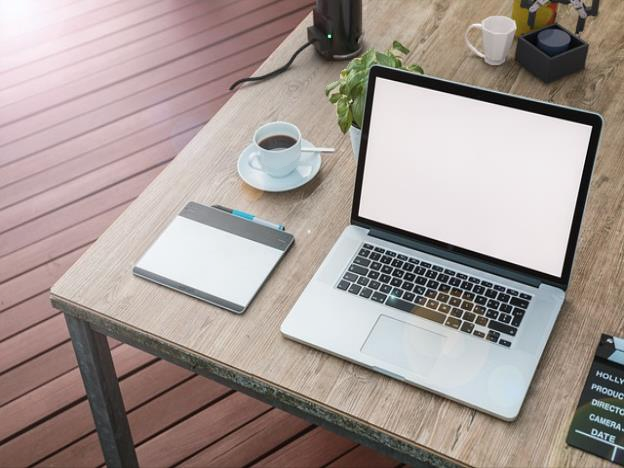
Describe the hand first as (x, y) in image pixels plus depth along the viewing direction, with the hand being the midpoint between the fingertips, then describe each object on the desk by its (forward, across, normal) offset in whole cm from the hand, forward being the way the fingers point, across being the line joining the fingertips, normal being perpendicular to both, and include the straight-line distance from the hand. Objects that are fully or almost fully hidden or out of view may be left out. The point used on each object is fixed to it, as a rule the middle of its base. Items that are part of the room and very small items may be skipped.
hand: (554, 29), depth 163 cm
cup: (+8, +12, 0) cm, 15 cm away
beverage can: (+8, +4, -12) cm, 15 cm away
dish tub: (+8, 0, 0) cm, 8 cm away
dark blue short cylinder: (+5, 0, 0) cm, 5 cm away
